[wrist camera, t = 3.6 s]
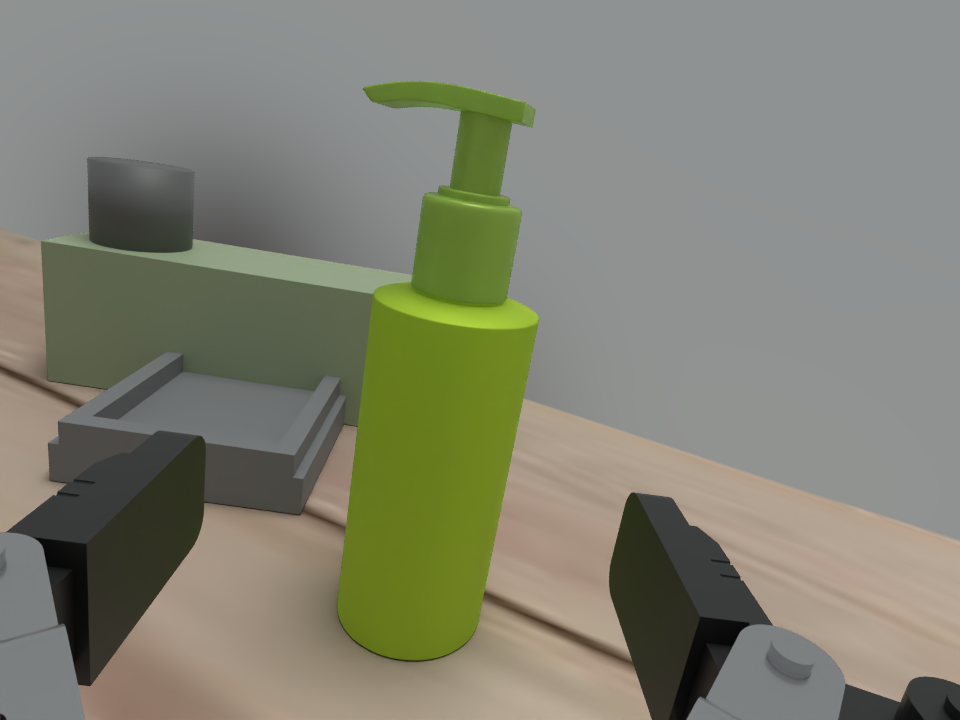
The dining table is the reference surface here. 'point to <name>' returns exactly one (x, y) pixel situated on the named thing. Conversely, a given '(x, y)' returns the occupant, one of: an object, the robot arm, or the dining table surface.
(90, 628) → the robot arm
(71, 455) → the green block with tray
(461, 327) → the soap dispenser
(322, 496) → the dining table surface
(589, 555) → the dining table surface
